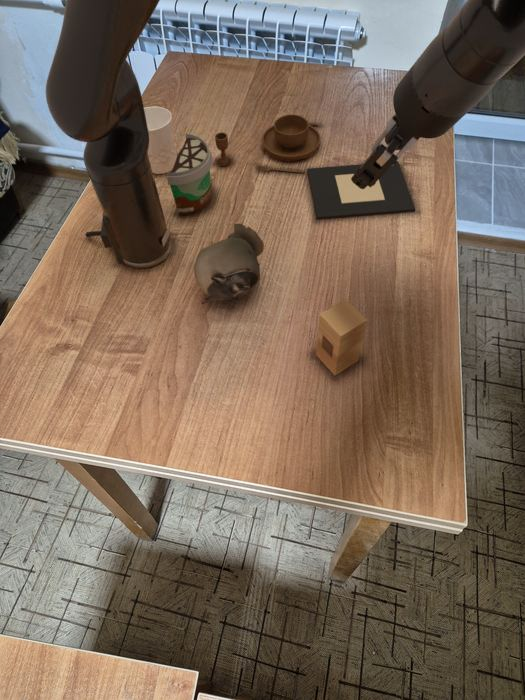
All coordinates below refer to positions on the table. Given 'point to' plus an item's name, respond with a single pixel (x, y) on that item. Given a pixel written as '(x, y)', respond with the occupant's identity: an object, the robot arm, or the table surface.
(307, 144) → the place setting
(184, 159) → the food container
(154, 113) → the white cup
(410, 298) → the table surface
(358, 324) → the tan block
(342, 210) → the mat
